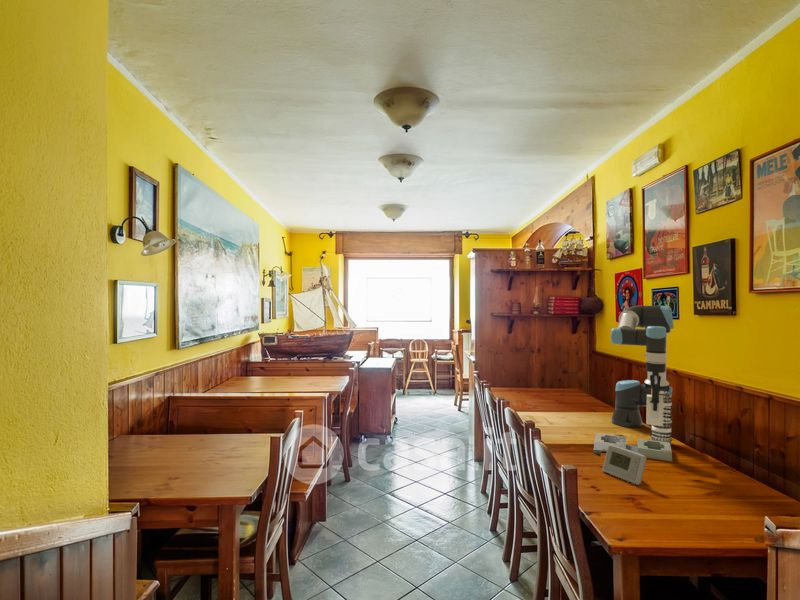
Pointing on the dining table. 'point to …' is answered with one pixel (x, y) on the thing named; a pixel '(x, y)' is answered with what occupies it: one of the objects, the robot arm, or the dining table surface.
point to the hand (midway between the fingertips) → (654, 416)
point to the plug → (648, 415)
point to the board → (629, 447)
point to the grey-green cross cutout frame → (655, 449)
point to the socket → (608, 441)
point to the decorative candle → (664, 421)
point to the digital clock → (624, 464)
